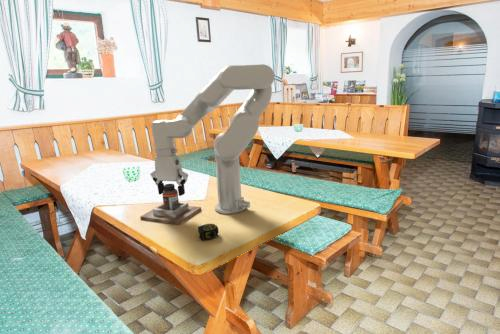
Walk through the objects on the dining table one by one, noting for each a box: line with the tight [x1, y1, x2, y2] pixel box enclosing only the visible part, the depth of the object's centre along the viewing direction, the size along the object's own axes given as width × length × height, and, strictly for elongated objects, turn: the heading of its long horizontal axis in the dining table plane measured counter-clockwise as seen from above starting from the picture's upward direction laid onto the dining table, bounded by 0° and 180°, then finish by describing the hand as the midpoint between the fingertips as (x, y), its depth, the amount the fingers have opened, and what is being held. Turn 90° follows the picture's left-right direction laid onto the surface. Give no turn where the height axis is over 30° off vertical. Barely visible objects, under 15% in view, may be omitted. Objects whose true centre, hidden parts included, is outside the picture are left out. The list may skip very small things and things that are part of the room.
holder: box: [139, 201, 202, 226], centre depth 142 cm, size 18×16×4 cm
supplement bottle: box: [161, 183, 180, 210], centre depth 141 cm, size 6×6×11 cm
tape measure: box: [197, 223, 219, 241], centre depth 121 cm, size 7×7×4 cm
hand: (171, 194), depth 141 cm, fingers open, 9 cm apart
